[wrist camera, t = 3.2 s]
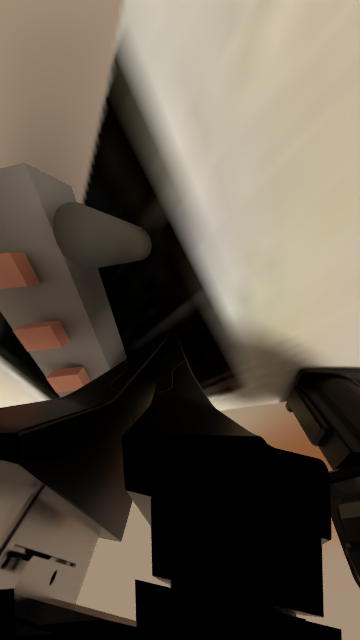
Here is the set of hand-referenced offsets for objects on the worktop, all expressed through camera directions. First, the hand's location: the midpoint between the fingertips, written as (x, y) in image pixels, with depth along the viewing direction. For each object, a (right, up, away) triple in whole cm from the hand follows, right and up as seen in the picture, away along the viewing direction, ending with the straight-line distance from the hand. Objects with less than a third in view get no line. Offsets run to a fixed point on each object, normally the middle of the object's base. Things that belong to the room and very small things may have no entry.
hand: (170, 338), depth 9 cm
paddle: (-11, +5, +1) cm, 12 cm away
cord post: (-3, +7, +2) cm, 8 cm away
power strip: (-10, +2, +6) cm, 12 cm away
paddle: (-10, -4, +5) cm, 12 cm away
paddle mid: (-11, 0, +3) cm, 11 cm away
